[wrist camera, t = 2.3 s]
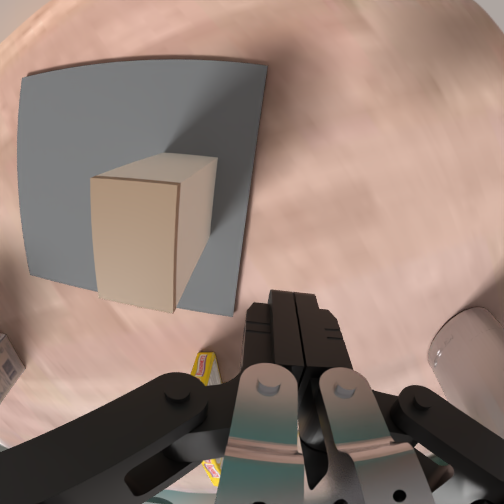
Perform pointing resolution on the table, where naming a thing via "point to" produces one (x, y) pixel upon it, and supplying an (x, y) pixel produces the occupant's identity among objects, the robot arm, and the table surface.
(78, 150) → the mat
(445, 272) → the table surface
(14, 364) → the juice carton
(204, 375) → the candy box
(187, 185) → the cream block
